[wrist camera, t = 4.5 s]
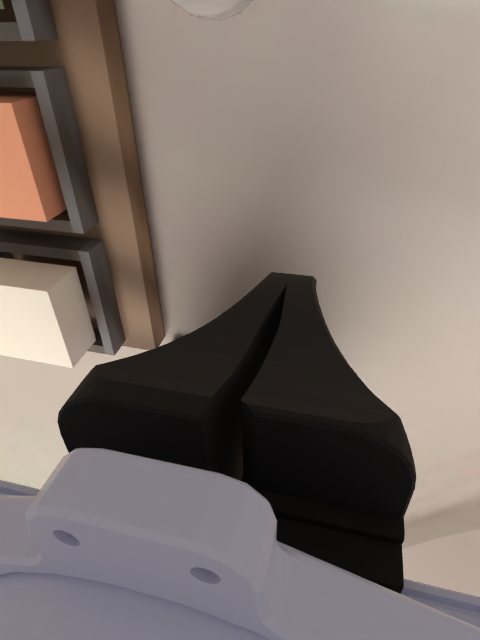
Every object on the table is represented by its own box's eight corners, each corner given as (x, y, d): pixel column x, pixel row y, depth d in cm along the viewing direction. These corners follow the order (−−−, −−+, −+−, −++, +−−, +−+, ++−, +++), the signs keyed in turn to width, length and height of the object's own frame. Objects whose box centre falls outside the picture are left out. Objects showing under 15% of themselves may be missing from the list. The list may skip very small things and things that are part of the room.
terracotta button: (76, 203, 22) (47, 222, 20) (-6, 195, 23) (-42, 213, 21) (48, 93, 19) (11, 102, 17) (-45, 90, 20) (-91, 99, 18)
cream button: (96, 340, 25) (72, 367, 23) (24, 328, 26) (-4, 354, 24) (75, 267, 22) (47, 291, 20) (-4, 257, 23) (-39, 279, 21)
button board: (164, 336, 28) (145, 366, 25) (22, 314, 30) (-8, 340, 28) (77, -242, 14) (16, -294, 11) (-181, -201, 16) (-277, -238, 14)
